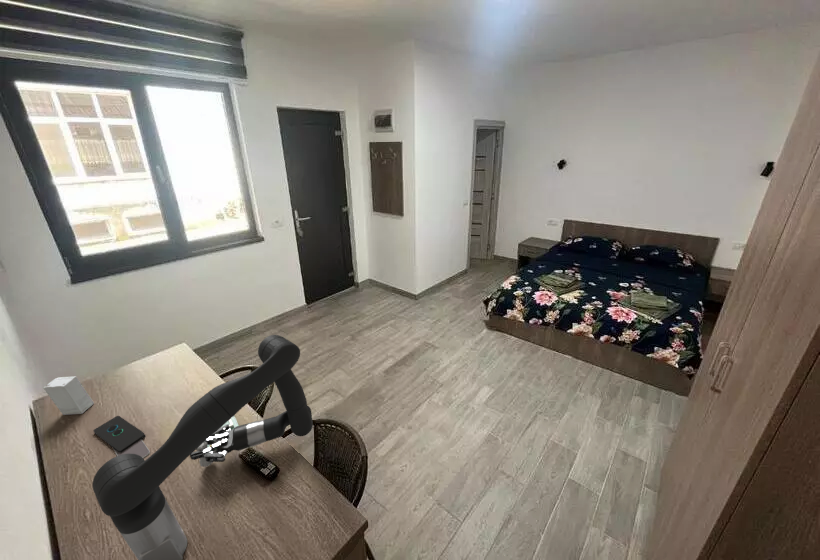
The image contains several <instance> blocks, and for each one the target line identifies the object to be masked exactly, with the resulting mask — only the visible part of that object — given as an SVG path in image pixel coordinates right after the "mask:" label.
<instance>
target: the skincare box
mask: <svg viewBox="0 0 820 560" xmlns="http://www.w3.org/2000/svg"><path fill="white" fill-rule="evenodd" d="M43 390H44V392H45V393H46V394H47V396H49V398H50V400H51V401H52V402H53V404H54V405H55V406H56V407H57V409H58V410H59V411H60V413H61V414H62V416H65V415H66V416H67V415H82V414H83V413H85V412H86V411H87V410H88V409H89V408H91V407H92V406H93V405H94V404H95V402H94V400H93V399H92V398H91V396H90V395H89V393H88V392H87V391H86V389H85V387H84V386H83V385H82V383H81V381H80V380H79V378H78V376H76V375H75V376H62V377H61V376H59V377H56V378H54V379H52V380H51V381H50V382H49V383H47V384H46V385H45V386H43Z"/></svg>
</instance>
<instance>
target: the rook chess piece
mask: <svg viewBox="0 0 820 560" xmlns="http://www.w3.org/2000/svg"><path fill="white" fill-rule="evenodd" d="M207 448H208V446H207V442H205V441H204V442H203V443H202V444H201V445H200V446H199V447H198V448H197V449H196V450H195V451H200V450H205V449H207ZM209 452H210V451H209ZM198 463H199V465H200V467H204V468H207V467H209V466H211V464H213V463H214V462H207V461H206V459H205V457H202V458H199V460H198Z"/></svg>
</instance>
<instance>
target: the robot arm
mask: <svg viewBox="0 0 820 560" xmlns="http://www.w3.org/2000/svg"><path fill="white" fill-rule="evenodd" d="M257 349H258V350H257V354H258V357H259V359H260V360H261V362H262V364H261V365H259V366H258V367H257V368H256V369H254V370H253V371H251V372H249V373H247V374H245V375H243V376H240V377H237V378H233V379H231V380H228V381H226V382H223V383H220V384H218V385H217V386H215V387H213V388H212V389H210V390H209V391H208V392H207V393H204V395H203V396H201V397H200V398H199V399H198V400H196V401H195V402H194V403H193V404H192V405H191V406H189V407H188V409H187V410H186V411H185V412H184V414H183V415H182V417H181V418H180V419H179V422H178V423H177V425H176V426H175V428H174V429H173V431H172V432H171V434H170V436H169V437H168V438H167V439H166V441H165V442H164V443H163V444H162V445H161V446H160V447H159V448H158V449H157V450H155V452H153V453H152V454H151V455H150V456H149V457H148V458H146V459H144V458H142V457H141V456H139V455H137V454H122V455H119V456H117V455H116V456H114V457H113V458H111V459H108V460H107V462H106V461H105V463H103V464H102V465H101V467H100V468H99V469H98V470H97V471H96V473H95V474H94V477H93V480H92V486H91V487H92V490H93V493H94V496H95V499H96V500H97V503H98V505H99V507H100V510H101V511H102V513H104V515H106V516H108V517H110V519H111V521H112V524H113V525H114V526H115V528H116V529H117V530H118V532H119V533H120V535H121V536H122V538H123V539H124V541H125V543H126V544H127V546H128V548H129V549H130V550H131V552H132V553H133V554H134V556H135V558H136V559H137V560H184V557H183V556H184V553H185V552H186V549H187V547H188V539H187V536H186V533H185V532H184V530H183V528H182V526H181V525H180V523H179V521H178V519H177V517H176V516H175V514H174V512H173V510H172V508H171V506H170V504H169V503H168V500H167V499H166V496H165V495H164V493H163V491H162V489H161V488H160V486H161V484H163V482H165V480H166V479H168V477H169V476H171V474H173V472H174V471H175V470H176V469H177V468H178V467H179V466H181V464H182V463H183V462H184V461H185V460H186V459H188V457H190V459H191V460H192V461H195V460H198V459H199V460H200V458H202V457H205V459H206V461H207V462H213V463H223V462H225V461H226V456H227V455H228V454H229V453H231V452H233V451H237V452H238V451H242V450H246V449H249V448H251V447H255V446H258V445H262V444H264V443H266V442H269V441H272V440H276V439H279V438H281V437H283V436H284V435H285V431H286V428H287V427H288V426H289V427H290V430H291V432H292V433H293V434H294V435H295V436H297V437H305V436H307V435H308V434H309V433H310V432H311V431H312V430H313V426H314V423H313V421H314V420H313V416H312V409H311V407H310V405H308V401H307V397H306V394H305V391H304V387H303V386H302V384H301V383H300V380H299V379H298V377H296V375H295V374H294V372H293V370H292V369H293V368H294V366H295V365H296V364H297V363H298V361H299V359H300V357H301V349H300V347H299V346H298V345H297V344H295V343H294V342H292V341H290V340H289V339H287V338H285V337H284V336H281V335H277V334H270V335H267V336H266V337H265V338H264V339H263V340H261V342H260V343H259V345H258V348H257ZM273 383H275V386H276V388H277V391H278V393H279V395H280V397H281V400H282V403H283V405H284V408H285V411H283V412H282V413H280V414H278V415H275V416H273V417H269V418H264V419H260V420H255V421H251V422H249V423H244V424H241V425H239V426H237V427H235V428H234V429H230V427H229V424H226V425H225V426H223V425H224V424H225V423H226V422H227V421H229V420H230V419H231V417H233V416H235V415H236V414H238V412H239V411H240V410H242V409H243V408H244V407H245V406H246V405H248V403H250V402H251V401H252V400H254V398H255V397H257V396H258V395H259V394H261V393H262V392H263V391H265V389H266V388H268V387H269V386H270V385H272V384H273ZM222 426H223V427H222ZM217 433H218V434H217ZM215 434H217V435H215ZM204 441H205V442H207V445H212V446H211V447H209V448H207V449H205V450H200V451H197V450H196V449H197V448H198V447H199V446H200V445H201V444H202V443H203V442H204ZM215 448H217V449H215ZM209 451H212V452H209Z"/></svg>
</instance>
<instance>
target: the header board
mask: <svg viewBox="0 0 820 560" xmlns="http://www.w3.org/2000/svg"><path fill="white" fill-rule="evenodd" d="M226 424H229V427H230V429H234V428H235V427H237V426H240V425H239V423H238V421H237V417H235V415H234V416H233V417H231V419H230V420H229V421H227V422H226V423H225V424H224V425H223V426H225V425H226ZM223 426H222V427H223ZM217 434H218V433H217ZM217 434H215V435H217ZM207 446H208V448H209V447H211V446H212V445H207ZM215 449H216V450H217V448H215ZM210 452H212V451H210Z"/></svg>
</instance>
